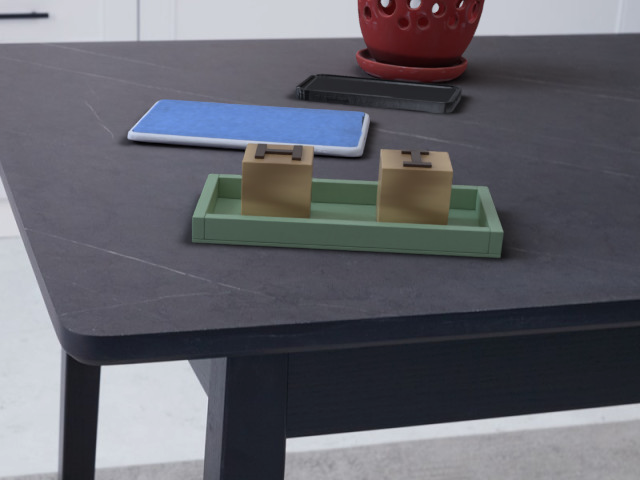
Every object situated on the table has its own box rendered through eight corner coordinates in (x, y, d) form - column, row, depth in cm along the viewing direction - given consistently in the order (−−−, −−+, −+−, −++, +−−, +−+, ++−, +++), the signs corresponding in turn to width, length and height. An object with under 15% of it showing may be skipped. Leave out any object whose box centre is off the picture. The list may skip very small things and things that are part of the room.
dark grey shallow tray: (314, 73, 116) (463, 85, 112) (313, 84, 116) (462, 97, 112) (292, 89, 109) (451, 103, 105) (292, 101, 110) (450, 115, 106)
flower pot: (403, 95, 113) (414, -34, 108) (327, 69, 123) (334, -50, 118) (503, 82, 119) (519, -40, 114) (423, 59, 129) (434, -55, 124)
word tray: (484, 213, 81) (487, 186, 80) (499, 262, 73) (504, 231, 72) (208, 200, 83) (208, 173, 82) (191, 246, 74) (191, 216, 73)
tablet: (370, 124, 103) (371, 109, 102) (361, 163, 92) (362, 147, 91) (158, 112, 105) (157, 97, 105) (124, 148, 94) (124, 132, 94)
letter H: (310, 210, 80) (314, 142, 77) (308, 231, 76) (312, 161, 73) (246, 206, 80) (247, 139, 78) (240, 228, 76) (242, 158, 74)
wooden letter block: (441, 216, 79) (448, 148, 77) (446, 238, 75) (453, 167, 73) (375, 213, 79) (380, 145, 77) (376, 235, 75) (382, 164, 73)
